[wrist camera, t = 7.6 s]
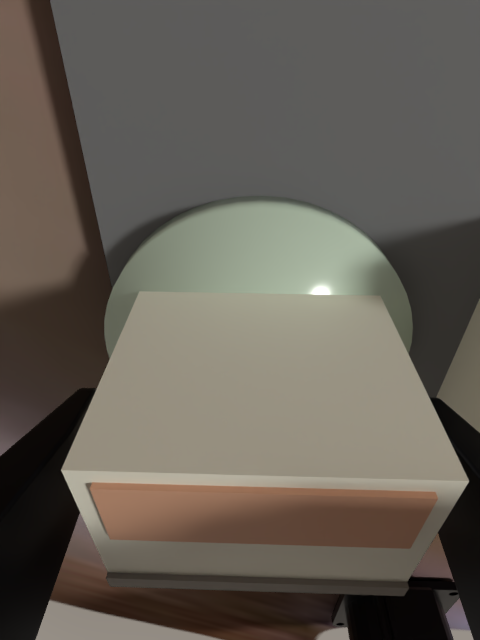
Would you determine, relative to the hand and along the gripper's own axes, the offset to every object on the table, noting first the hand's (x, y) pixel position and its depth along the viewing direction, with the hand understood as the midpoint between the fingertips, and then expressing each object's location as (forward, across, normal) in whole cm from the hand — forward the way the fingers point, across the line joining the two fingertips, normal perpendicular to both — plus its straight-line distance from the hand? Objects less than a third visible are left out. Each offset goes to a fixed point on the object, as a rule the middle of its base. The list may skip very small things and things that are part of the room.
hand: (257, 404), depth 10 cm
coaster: (+3, 0, 0) cm, 3 cm away
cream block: (+2, 0, 0) cm, 2 cm away
